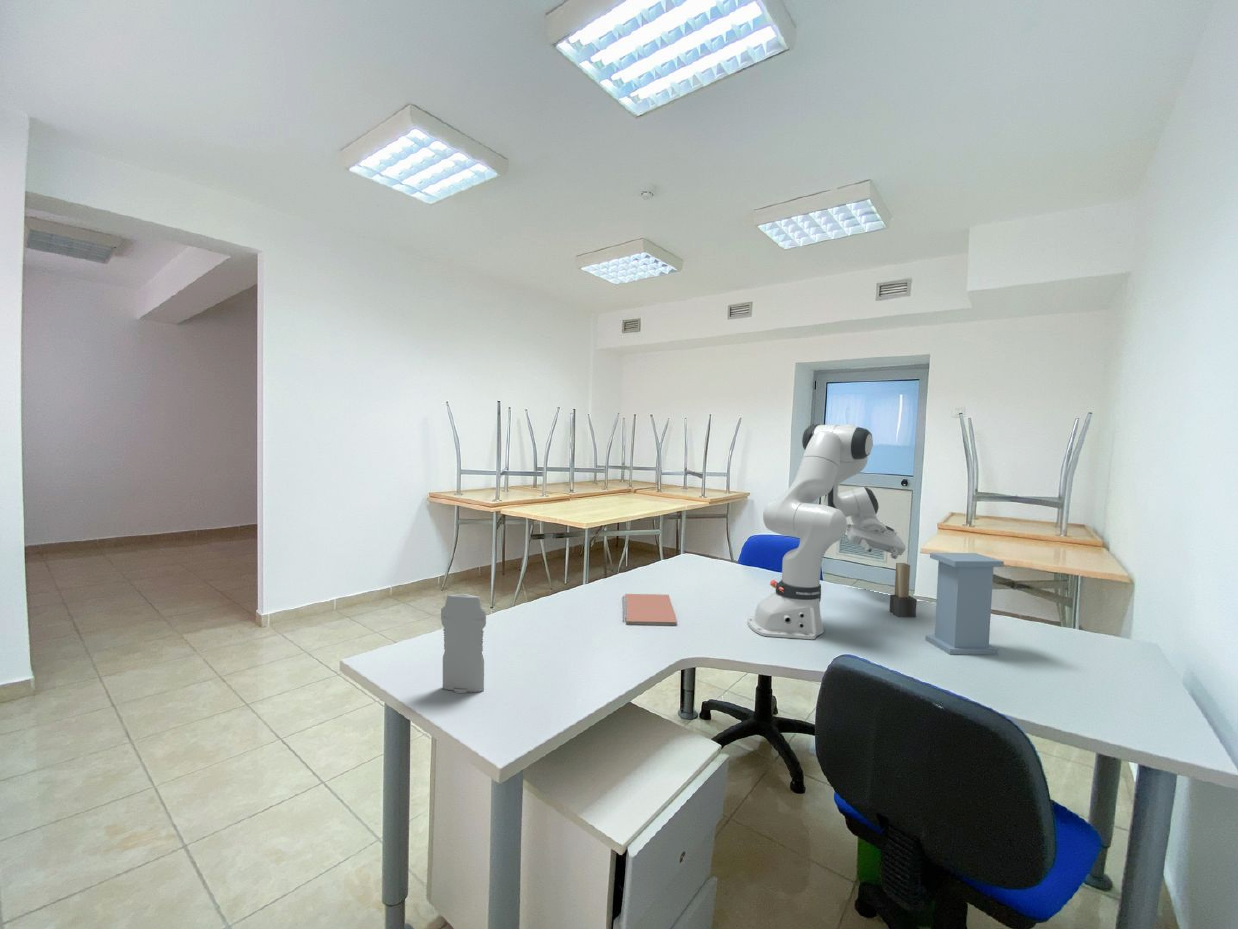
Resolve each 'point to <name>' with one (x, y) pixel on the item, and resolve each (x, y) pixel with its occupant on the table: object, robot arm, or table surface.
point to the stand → (964, 603)
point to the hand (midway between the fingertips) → (882, 553)
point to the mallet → (902, 593)
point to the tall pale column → (463, 643)
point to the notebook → (648, 609)
